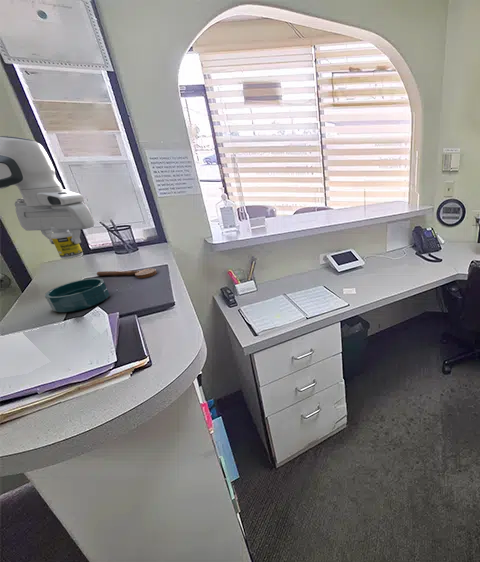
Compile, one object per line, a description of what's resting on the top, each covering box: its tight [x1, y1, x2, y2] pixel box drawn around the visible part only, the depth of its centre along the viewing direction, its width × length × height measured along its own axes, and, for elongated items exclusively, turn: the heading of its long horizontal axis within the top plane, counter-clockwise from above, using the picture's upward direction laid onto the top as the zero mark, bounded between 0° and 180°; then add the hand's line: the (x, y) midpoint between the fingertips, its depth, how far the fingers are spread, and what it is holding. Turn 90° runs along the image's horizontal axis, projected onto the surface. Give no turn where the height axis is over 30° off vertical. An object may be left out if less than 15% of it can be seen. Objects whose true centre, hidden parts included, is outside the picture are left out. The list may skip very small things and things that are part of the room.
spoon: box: [96, 267, 158, 279], centre depth 107 cm, size 21×6×2 cm, turn 87°
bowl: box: [44, 277, 110, 313], centre depth 88 cm, size 12×12×5 cm
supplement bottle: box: [50, 227, 84, 260], centre depth 95 cm, size 5×5×10 cm
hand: (66, 243), depth 95 cm, fingers closed on supplement bottle, 5 cm apart
